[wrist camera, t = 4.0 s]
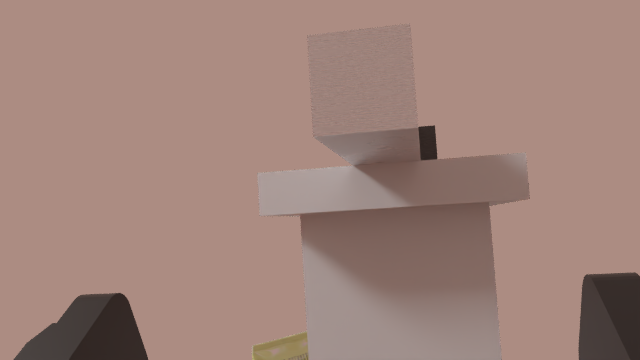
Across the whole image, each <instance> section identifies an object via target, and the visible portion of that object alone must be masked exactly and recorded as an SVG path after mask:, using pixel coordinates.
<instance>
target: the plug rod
mask: <svg viewBox="0 0 640 360" xmlns="http://www.w3.org/2000/svg"><path fill="white" fill-rule="evenodd" d="M307 40H308V41H307V42H308V57H309V58H308V59H309V74H310V75H309V76H310V92H311V107H312V108H311V109H312V125H313V137H315V138H316V139H317V140H319V141H320V142H321V143H323V144H324V145H326V146H327V147H328V148H330V149H331V150H332V151H334V152H335V153H337V154H338V155H339V156H341V157H342V158H343V159H345V160H346V161H348V162H349V163H350V164H352V165H353V166H357V165H370V164H383V163H396V162H409V161H422V160H435V159H437V148H436V134H435V126H425V127H418V118H417V105H416V92H415V80H414V66H413V53H412V40H411V28H410V24H404V25H395V26H386V27H377V28H368V29H359V30H351V31H343V32H333V33H324V34H317V35H316V34H315V35H307Z"/></svg>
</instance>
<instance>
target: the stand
mask: <svg viewBox="0 0 640 360" xmlns="http://www.w3.org/2000/svg"><path fill="white" fill-rule="evenodd" d="M258 192H259V210H260V216H300V219H301V236H302V253H303V271H304V287H305V304H306V322H307V340H308V357H309V360H502V359H501V345H500V333H499V321H498V308H497V295H496V284H495V271H494V258H493V246H492V234H491V222H490V208H489V206H492V205H497V204H503V203H509V202H514V201H520V200H526V199H530V197H529V196H530V195H529V183H528V172H527V160H526V153H515V154H501V155H488V156H476V157H462V158H449V159H435V160H422V161H409V162H396V163H383V164H370V165H357V166H344V167H330V168H317V169H304V170H292V171H278V172H264V173H258Z"/></svg>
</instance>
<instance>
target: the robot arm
mask: <svg viewBox="0 0 640 360" xmlns="http://www.w3.org/2000/svg"><path fill="white" fill-rule="evenodd" d="M582 286H583V287H582V302H581V317H580V334H579V360H640V276H639V275H638V274H637V273H614V274H590V275H586V276H585V277H584V280H583V285H582ZM14 360H148V357H147V354H146V351H145V348H144V345H143V342H142V339H141V336H140V333H139V331H138V327H137V324H136V321H135V318H134V316H133V313H132V310H131V307H130V304H129V301H128V300H127V298H126V297H125V296H124V295H123V294H121V293H114V294H113V293H112V294H90V295H80V296H78V297H77V298H76V299H75V300H74V301H73V303H72V304H71V305H70V306H69V308H68V309H67V311H66V312H65V313H64V314H63V316H62V317H61V318H60V320H59V321H58V322H57V323H53V324H51V325H50V326H49V327H47V328H46V329H45V330H43V331H42V332H41V333H39V334H38V335H37V336H35V337H34V338H33V339H31V340H30V341H29V342H28V343H27V344H26V345H25V346H24V347H23V348H22V350H21V351H20V353H19V354H18V355H17V356H16V357H15V359H14Z"/></svg>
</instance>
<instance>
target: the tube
mask: <svg viewBox="0 0 640 360" xmlns="http://www.w3.org/2000/svg"><path fill="white" fill-rule="evenodd" d="M252 359H253V360H309V357H308V340H307V331H305V332H302V333H298V334H295V335H291V336H287V337H284V338H281V339H277V340H273V341H269V342H265V343H261V344H257V345H253V346H252Z"/></svg>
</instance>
